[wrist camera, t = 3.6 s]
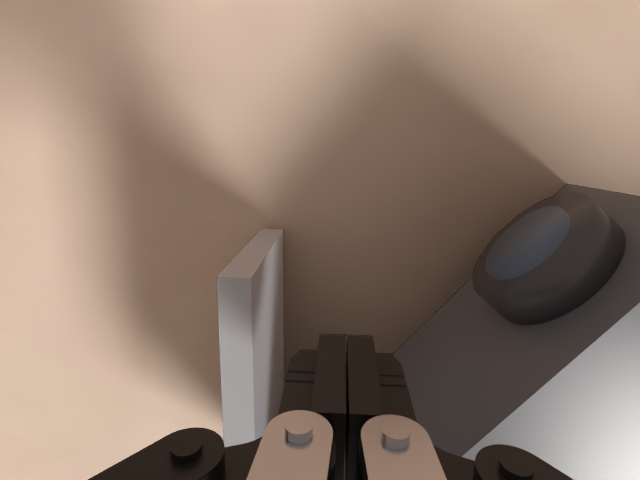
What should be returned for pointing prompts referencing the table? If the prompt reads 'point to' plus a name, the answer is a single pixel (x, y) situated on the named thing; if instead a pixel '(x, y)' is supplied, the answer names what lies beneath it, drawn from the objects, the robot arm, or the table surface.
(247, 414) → the side door
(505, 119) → the table surface
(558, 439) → the camera box
